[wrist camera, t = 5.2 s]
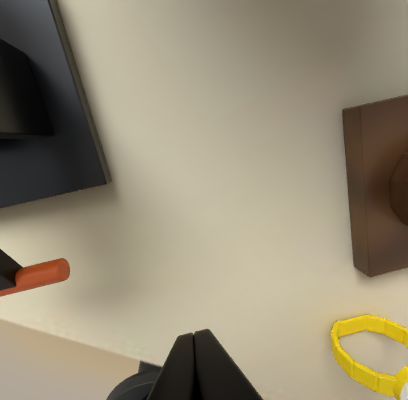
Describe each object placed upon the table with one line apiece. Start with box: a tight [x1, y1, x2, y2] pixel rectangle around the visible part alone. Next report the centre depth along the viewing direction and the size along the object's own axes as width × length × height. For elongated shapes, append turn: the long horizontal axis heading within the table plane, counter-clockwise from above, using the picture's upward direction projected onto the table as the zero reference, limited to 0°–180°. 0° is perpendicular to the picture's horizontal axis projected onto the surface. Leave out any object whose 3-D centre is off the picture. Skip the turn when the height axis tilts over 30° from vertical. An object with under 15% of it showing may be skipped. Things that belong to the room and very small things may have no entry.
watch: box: [331, 314, 408, 400], centre depth 18 cm, size 6×3×6 cm, turn 97°
